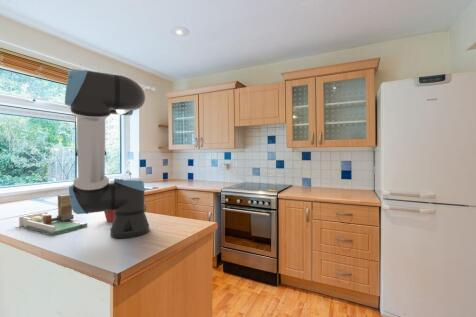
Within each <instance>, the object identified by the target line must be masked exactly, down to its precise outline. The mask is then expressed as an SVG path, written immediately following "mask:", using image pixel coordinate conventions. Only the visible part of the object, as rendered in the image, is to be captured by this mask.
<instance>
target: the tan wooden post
mask: <svg viewBox="0 0 476 317" xmlns="http://www.w3.org/2000/svg"><path fill="white" fill-rule="evenodd" d="M57 220H61V221H67V220H74V214H73V210H72V207H71V202H70V195H69V193H67V194H60V195H57V215H56V216H55V217H52V215H51V214H47V215H46V216H43V224H49V223H52V221H57Z"/></svg>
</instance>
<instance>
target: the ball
mask: <svg viewBox="0 0 476 317" xmlns="http://www.w3.org/2000/svg"><path fill="white" fill-rule="evenodd" d="M32 221H34V222H42V218H41V217H40V216H35V217H33V218H32Z"/></svg>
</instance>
